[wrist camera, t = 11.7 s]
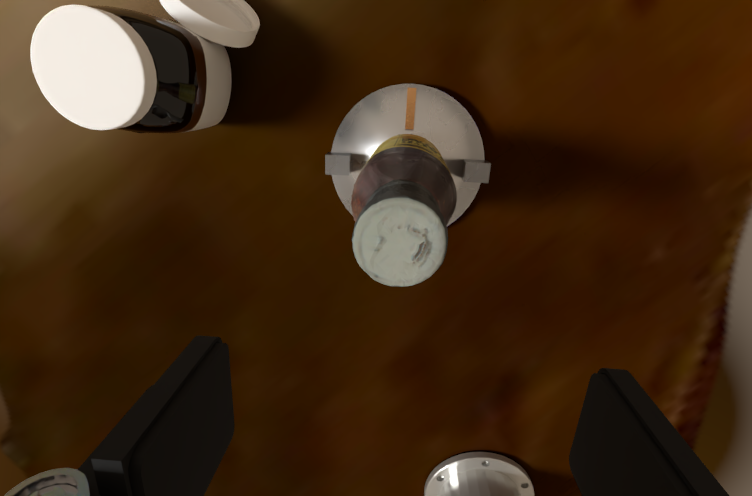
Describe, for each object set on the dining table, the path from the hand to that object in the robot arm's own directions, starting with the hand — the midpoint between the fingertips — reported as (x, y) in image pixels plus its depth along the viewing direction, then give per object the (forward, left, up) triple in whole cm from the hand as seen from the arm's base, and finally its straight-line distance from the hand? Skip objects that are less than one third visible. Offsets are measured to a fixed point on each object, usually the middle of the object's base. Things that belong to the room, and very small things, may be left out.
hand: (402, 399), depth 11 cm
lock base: (+1, 0, -29) cm, 29 cm away
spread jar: (+9, +18, -29) cm, 35 cm away
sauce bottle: (+1, 0, -28) cm, 28 cm away
